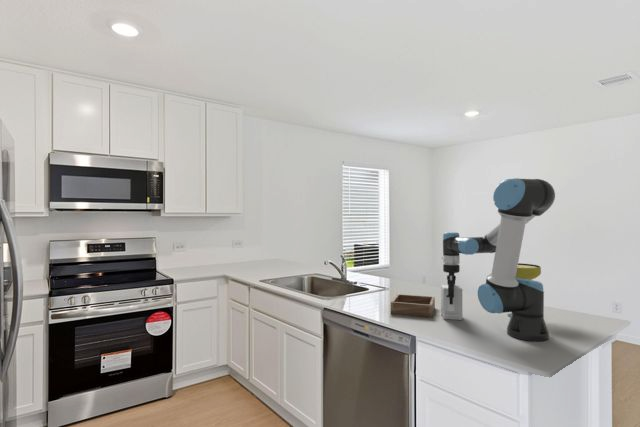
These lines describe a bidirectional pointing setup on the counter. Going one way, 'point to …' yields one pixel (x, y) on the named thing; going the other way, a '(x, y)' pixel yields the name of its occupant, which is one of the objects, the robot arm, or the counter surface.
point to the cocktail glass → (527, 273)
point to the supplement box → (457, 303)
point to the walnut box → (413, 305)
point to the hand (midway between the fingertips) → (451, 307)
